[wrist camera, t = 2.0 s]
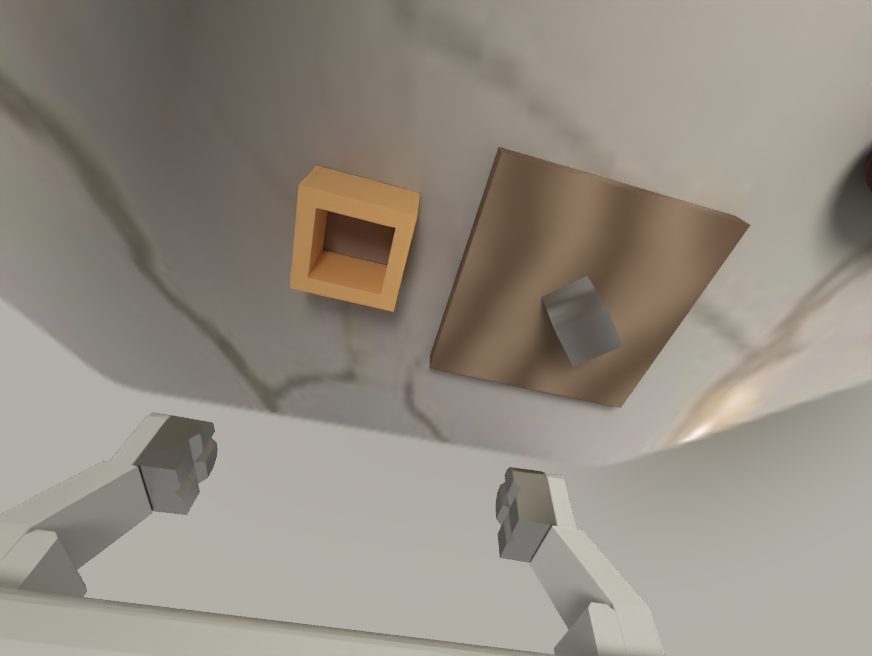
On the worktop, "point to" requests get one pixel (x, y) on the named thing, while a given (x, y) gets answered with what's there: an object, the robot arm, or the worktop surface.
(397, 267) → the orange square tube
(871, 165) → the potato
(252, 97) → the worktop surface
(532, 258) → the base plate
